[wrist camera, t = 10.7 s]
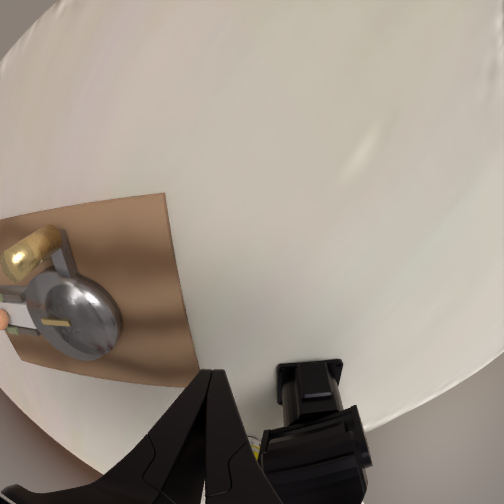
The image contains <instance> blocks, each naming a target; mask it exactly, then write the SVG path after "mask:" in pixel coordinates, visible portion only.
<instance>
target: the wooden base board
mask: <svg viewBox="0 0 504 504" xmlns="http://www.w3.org/2000/svg"><path fill="white" fill-rule="evenodd" d="M47 224H51V225H54V226H55V227H56V228H57V229H58V230H65V233H66V236H67V240H68V243H69V247H70V250H71V253H72V257H73V260H74V263H75V266H76V269H77V272H78V273H79V274H81V275H82V276H85V277H87V278H89V279H91V280H93V281H95V282H96V283H98V284H99V285H101V286H102V287H103V288H104V289H105V290H106V291H107V292H108V293H109V294H110V295H111V297H112V298H113V299H114V301H115V302H116V304H117V306H118V308H119V310H120V312H121V315H122V320H123V329H122V333H121V335H120V336H119V338H118V340H117V342H116V344H115V345H114V347H113V349H112V350H111V351H110V352H108V353H106V354H103V355H102V356H101V357H100V358H98V359H96V360H92V361H83V360H78V359H75V358H72V357H70V356H68V355H66V354H64V353H62V352H61V351H59V350H58V349H56V348H55V347H54V346H52V345H51V344H50V343H49V342H48V341H47V340H46V339H45V338H44V337H43V336H42V334H41V333H40V332H39V330H38V329H33V328H27V327H22V326H16V325H11V324H8V326H7V328H6V329H4V330H5V332H6V334H7V335H8V337H9V339H10V341H11V343H12V345H13V346H14V348H15V350H16V352H17V353H18V355H19V357H20V358H21V360H22V361H26V362H29V363H33V364H37V365H40V366H44V367H48V368H52V369H57V370H61V371H66V372H70V373H75V374H80V375H85V376H91V377H96V378H102V379H108V380H115V381H122V382H130V383H138V384H147V385H157V386H169V387H183V388H186V387H187V386H188V385H189V383H190V382H191V381H192V380H193V378H194V377H195V376H196V375H197V374H198V372H199V371H200V369H199V365H198V361H197V357H196V353H195V349H194V345H193V341H192V337H191V332H190V328H189V324H188V319H187V315H186V310H185V306H184V301H183V296H182V291H181V286H180V281H179V276H178V271H177V265H176V260H175V254H174V249H173V243H172V237H171V231H170V224H169V218H168V211H167V204H166V197H165V193H159V194H150V195H141V196H133V197H125V198H118V199H111V200H104V201H97V202H90V203H84V204H78V205H72V206H66V207H60V208H55V209H50V210H44V211H39V212H34V213H29V214H24V215H20V216H15V217H10V218H6V219H2V220H0V257H1V254H2V253H3V252H4V251H6V250H7V249H9V248H10V247H12V246H13V245H15V244H16V243H18V242H19V241H21V240H22V239H24V238H25V237H27V236H29V235H30V234H32V233H33V232H35V231H37V230H38V229H40V228H42V227H43V226H45V225H47ZM49 266H54V263H53V260H52V257H51V256H50V257H49V258H48V259H46V260H45V261H44V262H43V263H41V264H40V265H39V266H38V267H36V268H35V269H34V270H33V271H31V272H30V273H29V274H28V275H27V276H25V277H24V278H23V279H22V280H21V281H19V282H18V283H14V282H12V281H10V280H9V279H8V278H7V276H6V275H5V274H4V272H3V270H2V267H1V262H0V302H4V301H14V302H23V301H24V300H25V299H26V289H27V286H28V284H29V282H30V281H31V280H32V279H33V278H34V277H35V276H36V275H38V274H39V273H40V272H41V271H42V270H44V269H45V268H47V267H49Z"/></svg>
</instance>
